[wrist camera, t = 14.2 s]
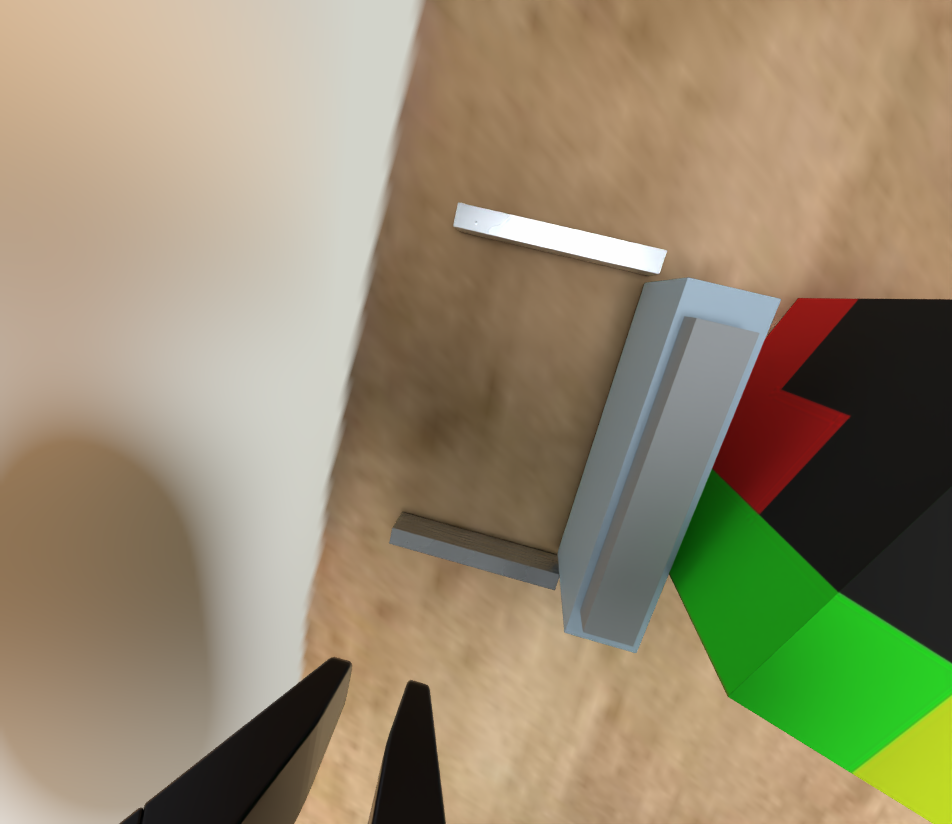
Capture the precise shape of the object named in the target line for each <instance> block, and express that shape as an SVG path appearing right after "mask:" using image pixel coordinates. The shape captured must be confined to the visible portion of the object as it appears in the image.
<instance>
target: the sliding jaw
mask: <svg viewBox="0 0 952 824" xmlns="http://www.w3.org/2000/svg"><path fill="white" fill-rule="evenodd" d="M780 301H781V299H778V298H774V297H770V296H766V295H761V294H757V293H753V292H748V291H744V290H740V289H735V288H731V287H727V286H723V285H718V284H714V283H710V282H705V281H701V280H697V279H693V278H680V279H672V280H664V281H656V282H648V283H645V284H644V287H643V290H642V293H641V296H640V299H639V302H638V305H637V308H636V312H635V315H634V318H633V321H632V324H631V327H630V330H629V333H628V336H627V339H626V343H625V346H624V349H623V352H622V355H621V358H620V361H619V364H618V367H617V370H616V373H615V377H614V380H613V383H612V386H611V389H610V392H609V395H608V398H607V401H606V404H605V407H604V411H603V414H602V417H601V420H600V423H599V426H598V429H597V432H596V435H595V438H594V441H593V445H592V448H591V451H590V454H589V457H588V460H587V463H586V466H585V469H584V472H583V475H582V479H581V482H580V485H579V488H578V491H577V494H576V497H575V500H574V503H573V506H572V509H571V513H570V516H569V519H568V522H567V525H566V528H565V531H564V534H563V537H562V540H561V543H560V547H559V550H558V564H559V575H560V587H561V599H562V610H563V622H564V633H568V634H571V635H575V636H578V637H582V638H585V639H589V640H592V641H595V642H599V643H602V644H606V645H609V646H613V647H616V648H620V649H623V650H627V651H630V652H633V653H637V650H638V648H639V645H640V643H641V641H642V638H643V636H644V633H645V631H646V628H647V626H648V623H649V621H650V619H651V616H652V614H653V611H654V609H655V606H656V604H657V601H658V599H659V597H660V594H661V592H662V589H663V587H664V584H665V582H666V579H667V577H668V575H669V572H670V570H671V567H672V565H673V562H674V560H675V557H676V555H677V553H678V550H679V548H680V545H681V543H682V540H683V538H684V535H685V533H686V531H687V528H688V526H689V523H690V521H691V518H692V516H693V513H694V511H695V509H696V506H697V504H698V501H699V499H700V496H701V494H702V492H703V489H704V487H705V484H706V482H707V479H708V477H709V474H710V472H711V470H712V467H713V465H714V462H715V460H716V457H717V455H718V452H719V450H720V448H721V445H722V443H723V440H724V438H725V435H726V433H727V430H728V428H729V426H730V423H731V421H732V418H733V416H734V413H735V411H736V408H737V406H738V404H739V401H740V399H741V396H742V394H743V391H744V389H745V386H746V384H747V382H748V379H749V377H750V374H751V372H752V369H753V367H754V364H755V362H756V360H757V357H758V355H759V352H760V350H761V347H762V345H763V342H764V340H765V338H766V335H767V333H768V330H769V328H770V325H771V323H772V320H773V318H774V316H775V313H776V311H777V308H778V306H779V303H780Z"/></svg>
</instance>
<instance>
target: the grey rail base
mask: <svg viewBox="0 0 952 824" xmlns="http://www.w3.org/2000/svg"><path fill="white" fill-rule="evenodd" d="M454 227H455V228H456V229H457V230H459V231H460V232H463V233H467V234H472V235H476V236H480V237H484V238H489V239H493V240H497V241H501V242H506V243H510V244H514V245H519V246H523V247H527V248H531V249H536V250H540V251H544V252H548V253H553V254H557V255H561V256H566V257H570V258H574V259H578V260H583V261H587V262H591V263H595V264H600V265H604V266H608V267H613V268H617V269H621V270H625V271H630V272H634V273H638V274H642V275H647V276H652V275H657V274H660V271H661V267H662V264H663V261H664V258H665V255H666V252H667V250H663V249H658V248H654V247H650V246H645V245H641V244H637V243H632V242H628V241H623V240H619V239H615V238H610V237H606V236H602V235H597V234H593V233H589V232H584V231H580V230H576V229H571V228H567V227H563V226H558V225H554V224H550V223H545V222H541V221H537V220H532V219H528V218H523V217H519V216H515V215H510V214H506V213H502V212H497V211H493V210H489V209H484V208H480V207H476V206H471V205H467V204H463V203H458V206H457V211H456V216H455V221H454ZM389 544H393V545H397V546H400V547H404V548H407V549H411V550H414V551H418V552H421V553H425V554H428V555H432V556H435V557H439V558H442V559H446V560H449V561H453V562H457V563H460V564H464V565H467V566H471V567H474V568H478V569H481V570H485V571H488V572H492V573H495V574H499V575H502V576H506V577H509V578H513V579H517V580H520V581H524V582H527V583H531V584H534V585H538V586H541V587H545V588H548V589H552V590H555V588H556V585H557V582H558V579H559V576H560V575H559V564H558V555H555V554H552V553H548V552H544V551H541V550H537V549H534V548H530V547H526V546H523V545H519V544H516V543H512V542H508V541H505V540H501V539H498V538H494V537H491V536H487V535H483V534H480V533H476V532H473V531H469V530H465V529H462V528H458V527H455V526H451V525H447V524H444V523H440V522H437V521H433V520H429V519H426V518H422V517H419V516H415V515H411V514H408V513H404V512H402V513H401V515H400V516H399V518H398V520H397V521H396V523H395V524H394V526H393V528H392V532H391V537H390V542H389Z"/></svg>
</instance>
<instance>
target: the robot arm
mask: <svg viewBox="0 0 952 824" xmlns="http://www.w3.org/2000/svg"><path fill="white" fill-rule="evenodd" d="M351 672H352V663H351V662H350V661H347V660H343V659H340V658H337V657H332V658H330V659H328V660H327V661H326V662H324V663H323V664H322V665H321V666H319V667H318V668H317V669H316V670H314V671H313V672H312V673H310V674H309V675H308V676H307V677H305V678H304V679H303V680H302V681H300V682H299V683H298V684H297V685H295V686H294V687H293V688H292V689H290V690H289V691H288V692H286V693H285V694H284V695H283V696H281V697H280V698H279V699H277V700H276V701H275V702H274V703H272V704H271V705H270V706H269V707H267V708H266V709H265V710H264V711H262V712H261V713H260V714H258V715H257V716H256V717H255V718H253V719H252V720H251V721H250V722H248V723H247V724H246V725H244V726H243V727H242V728H241V729H240V730H238V731H237V732H235V733H234V734H233V735H232V736H230V737H229V738H228V739H227V740H225V741H224V742H223V743H222V744H220V745H219V746H218V747H216V748H215V749H214V750H213V751H211V752H210V753H209V754H207V755H206V756H205V757H204V758H202V759H201V760H200V761H199V762H197V763H196V764H195V765H194V766H192V767H191V768H190V769H188V770H187V771H186V772H185V773H183V774H182V775H181V776H180V777H178V778H177V779H176V780H174V781H173V782H172V783H171V784H170V785H168V786H167V787H166V788H164V789H163V790H162V791H160V792H159V793H158V794H157V795H155V796H154V797H153V798H152V799H150V800H149V801H148V802H147V803H146V804H145V806H144V810H143V808H138V809H137V810H136V811H135V812H133V813H132V814H131V815H130V816H128V817H127V818H126V819H124V820H123V821H122V822H121V823H120V824H294V823H295V821H296V819H297V817H298V815H299V813H300V811H301V809H302V807H303V805H304V803H305V800H306V798H307V796H308V793H309V791H310V789H311V786H312V784H313V782H314V779H315V777H316V774H317V772H318V769H319V767H320V764H321V762H322V759H323V757H324V754H325V752H326V749H327V747H328V744H329V742H330V739H331V737H332V734H333V732H334V729H335V727H336V724H337V722H338V719H339V717H340V714H341V712H342V709H343V707H344V704H345V701H346V697H347V692H348V687H349V682H350V677H351ZM368 824H446V820H445V812H444V804H443V795H442V787H441V779H440V770H439V762H438V754H437V745H436V737H435V729H434V720H433V712H432V704H431V695H430V689H429V686H428V685H426V684H423V683H420V682H416V681H413V680H410V681H408V683H407V685H406V688H405V691H404V693H403V696H402V699H401V702H400V705H399V708H398V711H397V713H396V716H395V719H394V722H393V725H392V728H391V731H390V734H389V737H388V740H387V743H386V748H385V752H384V756H383V760H382V765H381V769H380V773H379V778H378V782H377V786H376V791H375V795H374V799H373V804H372V808H371V812H370V816H369V821H368Z"/></svg>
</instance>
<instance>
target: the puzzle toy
mask: <svg viewBox="0 0 952 824" xmlns="http://www.w3.org/2000/svg"><path fill="white" fill-rule="evenodd" d="M669 575H670V577H671V579H672V581H673V583H674V585H675V587H676V590H677V592H678V594H679V596H680V598H681V600H682V602H683V604H684V606H685V608H686V610H687V612H688V615H689V617H690V619H691V621H692V623H693V625H694V627H695V629H696V631H697V633H698V635H699V637H700V640H701V642H702V644H703V646H704V648H705V650H706V652H707V654H708V656H709V658H710V660H711V662H712V665H713V667H714V669H715V671H716V673H717V675H718V677H719V679H720V681H721V683H722V685H723V688H724V690H725V692H726V694H727V696H728V697H729V698H731V699H732V700H734V701H736V702H737V703H739V704H741V705H742V706H744V707H745V708H747V709H749V710H750V711H752V712H754V713H755V714H757V715H758V716H760V717H762V718H763V719H765V720H766V721H768V722H770V723H771V724H773V725H775V726H776V727H778V728H779V729H781V730H783V731H784V732H786V733H787V734H789V735H791V736H792V737H794V738H796V739H797V740H799V741H800V742H802V743H804V744H805V745H807V746H808V747H810V748H812V749H813V750H815V751H817V752H818V753H820V754H821V755H823V756H825V757H826V758H828V759H829V760H831V761H833V762H834V763H836V764H838V765H839V766H841V767H842V768H844V769H846V770H847V771H849V772H850V773H852V774H854V775H855V776H857V777H859V778H860V779H862V780H863V781H865V782H867V783H868V784H870V785H871V786H873V787H875V788H876V789H878V790H880V791H881V792H883V793H884V794H886V795H888V796H889V797H891V798H892V799H894V800H896V801H897V802H899V803H901V804H902V805H904V806H905V807H907V808H909V809H910V810H912V811H914V812H915V813H917V814H918V815H920V816H922V817H923V818H925V819H926V820H928V821H930V822H931V823H933V824H952V300H946V299H828V298H798V299H797V300H796V302H795V303H794V304H793V305H792V307H791V308H790V309H789V310H788V311H787V313H786V314H785V315H784V316H783V318H782V319H781V320H780V321H779V323H778V324H777V325H776V326H775V327H774V329H773V330H772V331H771V332H770V334H769V335H768V336H767V337H766V339H765V340H764V342H763V345H762V347H761V350H760V352H759V355H758V357H757V360H756V362H755V364H754V367H753V369H752V372H751V374H750V377H749V379H748V382H747V384H746V386H745V389H744V391H743V394H742V396H741V399H740V401H739V404H738V406H737V408H736V411H735V413H734V416H733V418H732V421H731V423H730V426H729V428H728V430H727V433H726V435H725V438H724V440H723V443H722V445H721V448H720V450H719V452H718V455H717V457H716V460H715V462H714V465H713V467H712V470H711V472H710V474H709V477H708V479H707V482H706V484H705V487H704V489H703V492H702V494H701V496H700V499H699V501H698V504H697V506H696V509H695V511H694V513H693V516H692V518H691V521H690V523H689V526H688V528H687V531H686V533H685V535H684V538H683V540H682V543H681V545H680V548H679V550H678V553H677V555H676V557H675V560H674V562H673V565H672V567H671V570H670V572H669Z"/></svg>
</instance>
